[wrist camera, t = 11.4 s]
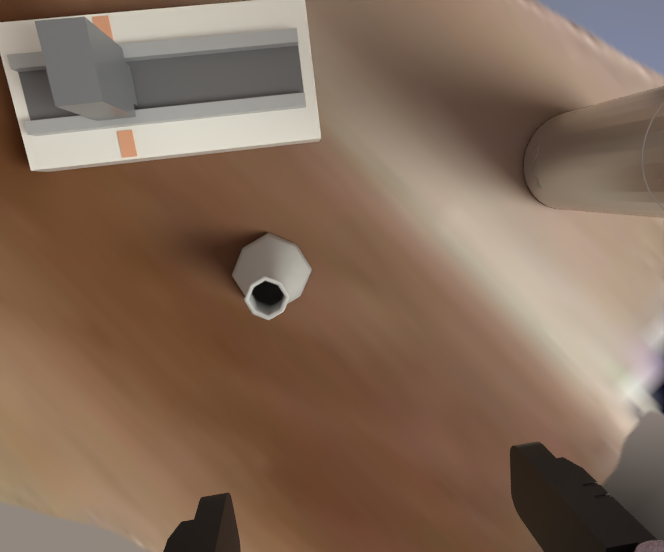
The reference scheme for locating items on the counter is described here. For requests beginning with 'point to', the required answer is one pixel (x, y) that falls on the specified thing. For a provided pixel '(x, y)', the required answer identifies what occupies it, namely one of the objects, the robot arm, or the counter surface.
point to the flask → (271, 274)
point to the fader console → (176, 85)
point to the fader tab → (86, 69)
